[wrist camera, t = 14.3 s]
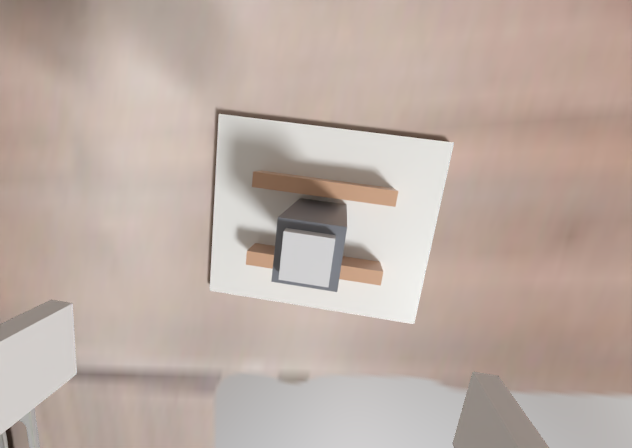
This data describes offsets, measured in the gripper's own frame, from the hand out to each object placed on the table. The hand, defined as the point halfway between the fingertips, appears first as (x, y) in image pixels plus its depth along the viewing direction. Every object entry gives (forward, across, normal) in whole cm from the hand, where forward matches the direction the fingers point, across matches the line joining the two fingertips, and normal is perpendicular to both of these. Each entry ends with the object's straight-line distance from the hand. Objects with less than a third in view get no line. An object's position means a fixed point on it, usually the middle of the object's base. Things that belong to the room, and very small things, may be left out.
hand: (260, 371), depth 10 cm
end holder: (+24, 0, 0) cm, 24 cm away
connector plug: (+23, 0, 0) cm, 23 cm away
